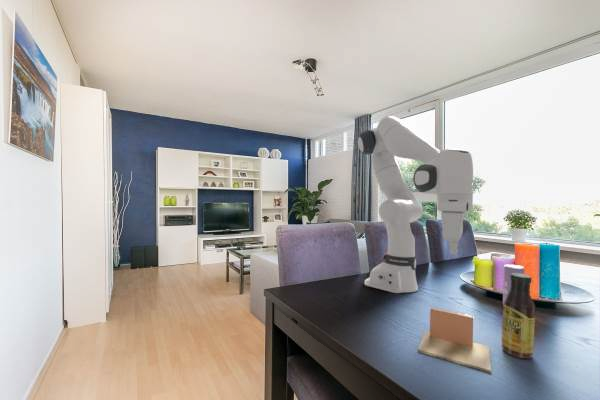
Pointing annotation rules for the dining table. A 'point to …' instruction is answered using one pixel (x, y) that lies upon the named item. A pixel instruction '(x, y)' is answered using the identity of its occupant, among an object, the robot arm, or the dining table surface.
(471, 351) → the oak board
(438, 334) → the tile
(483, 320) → the dining table surface
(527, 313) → the sauce bottle
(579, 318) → the dining table surface
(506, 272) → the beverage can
